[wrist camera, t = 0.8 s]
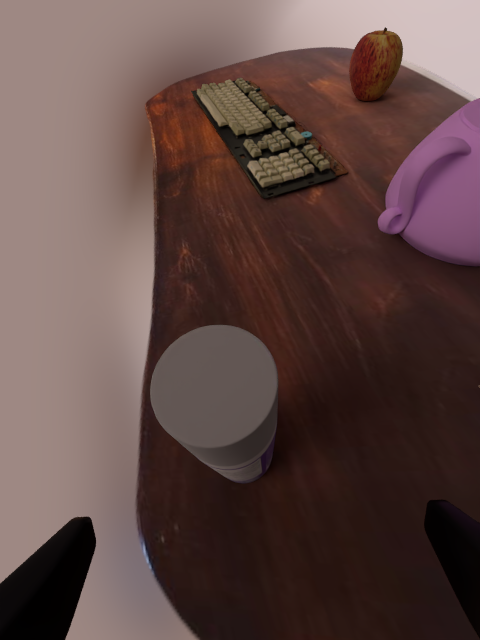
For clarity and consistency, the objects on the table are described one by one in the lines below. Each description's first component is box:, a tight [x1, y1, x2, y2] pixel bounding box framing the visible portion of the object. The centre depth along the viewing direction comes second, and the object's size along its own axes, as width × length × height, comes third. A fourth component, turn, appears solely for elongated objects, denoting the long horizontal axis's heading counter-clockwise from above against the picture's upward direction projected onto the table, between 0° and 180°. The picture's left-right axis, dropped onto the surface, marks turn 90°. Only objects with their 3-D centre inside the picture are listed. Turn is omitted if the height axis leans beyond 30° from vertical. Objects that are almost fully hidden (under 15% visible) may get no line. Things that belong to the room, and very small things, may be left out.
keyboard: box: [191, 78, 348, 199], centre depth 52 cm, size 45×15×2 cm, turn 19°
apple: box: [349, 28, 403, 101], centre depth 53 cm, size 9×9×10 cm
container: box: [150, 325, 278, 483], centre depth 16 cm, size 5×5×15 cm
